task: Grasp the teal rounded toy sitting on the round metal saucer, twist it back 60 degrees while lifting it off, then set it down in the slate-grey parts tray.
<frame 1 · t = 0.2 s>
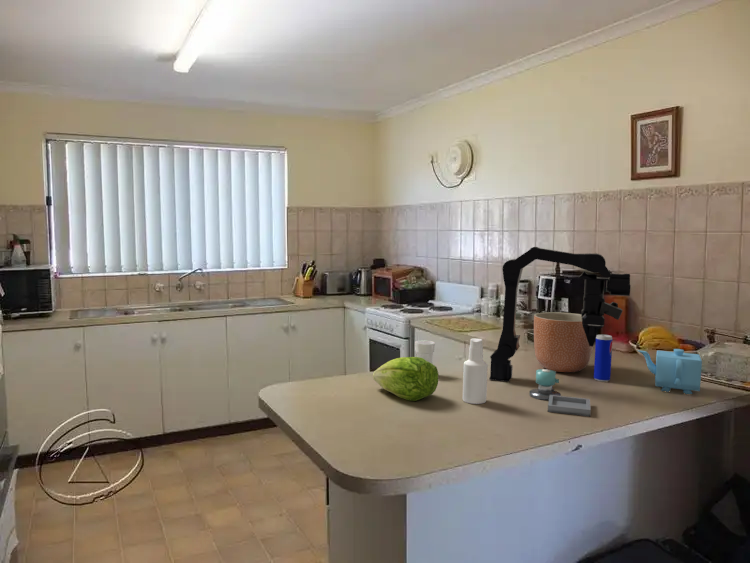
hand: (590, 343, 184), 14 cm above the worktop, fingers open, 9 cm apart
teal rounded toy: (545, 382, 175), point 4 cm above the worktop, touching round metal saucer
beverage can: (601, 380, 196), on the worktop
teapot: (666, 389, 187), on the worktop
cup: (424, 374, 199), on the worktop
planter: (561, 369, 210), on the worktop
lettuce: (402, 395, 175), on the worktop
round metal saucer: (544, 396, 176), on the worktop
spray bottle: (474, 401, 170), on the worktop
tray: (569, 408, 164), on the worktop
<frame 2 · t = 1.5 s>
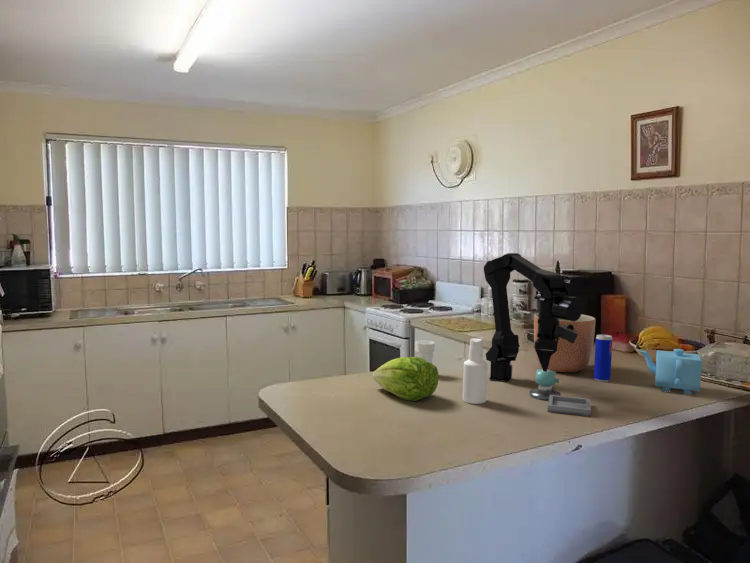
hand: (545, 367, 175), 9 cm above the worktop, fingers open, 9 cm apart
nothing on the worktop moved.
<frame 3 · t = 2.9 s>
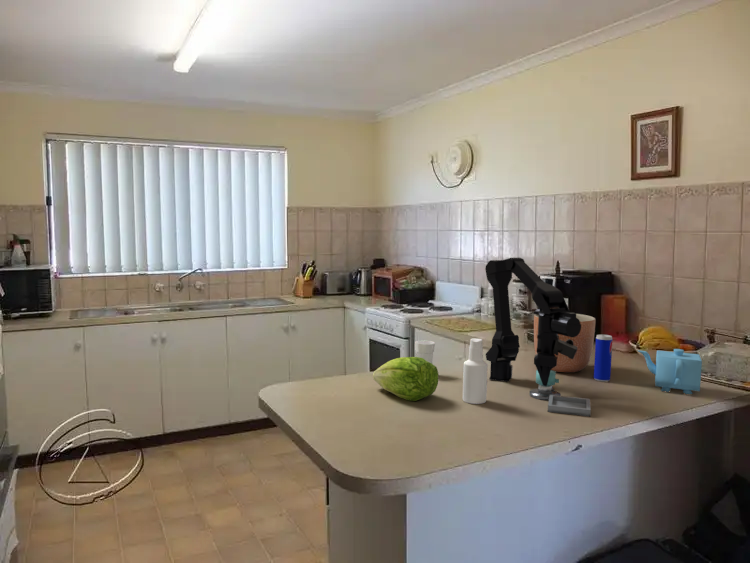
hand: (545, 382, 175), 4 cm above the worktop, fingers closed on teal rounded toy, 6 cm apart
teal rounded toy: (545, 382, 175), point 4 cm above the worktop, touching gripper, round metal saucer
everything else where it was.
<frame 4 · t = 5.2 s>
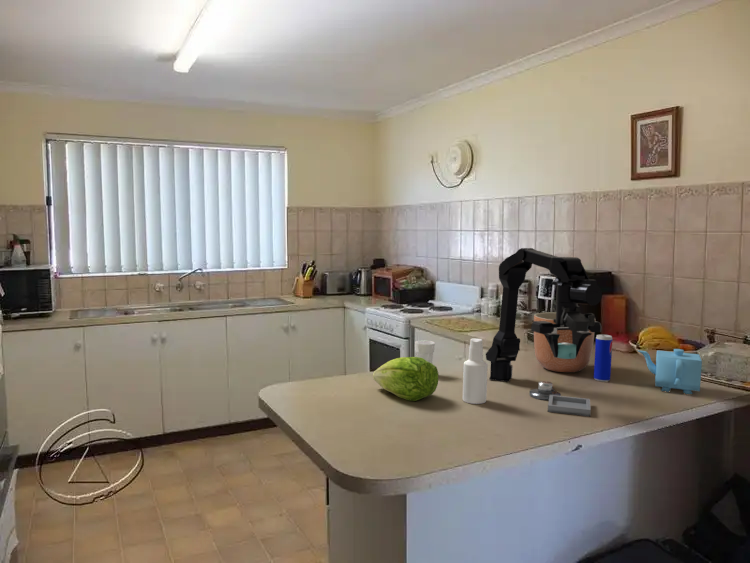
hand: (565, 357, 166), 14 cm above the worktop, fingers closed on teal rounded toy, 6 cm apart
teal rounded toy: (565, 356, 166), point 14 cm above the worktop, touching gripper
everything else where it was.
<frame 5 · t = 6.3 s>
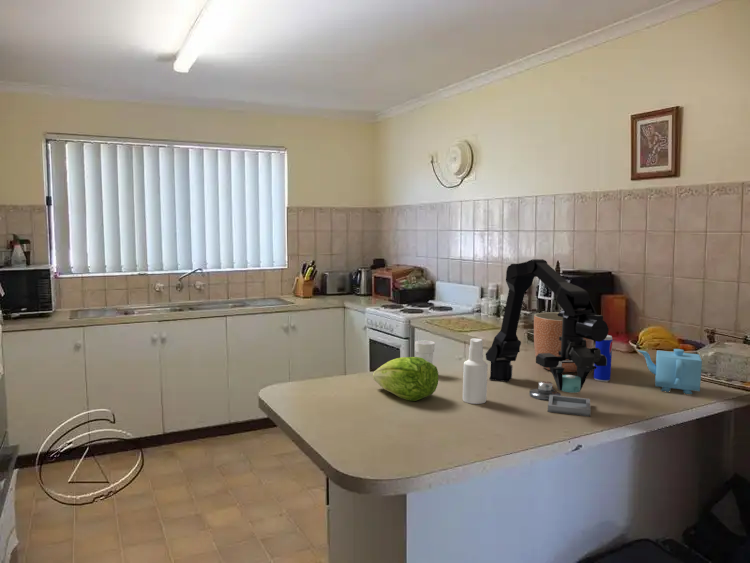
hand: (569, 389, 164), 5 cm above the worktop, fingers closed on teal rounded toy, 6 cm apart
teal rounded toy: (569, 389, 164), point 5 cm above the worktop, touching gripper
everything else where it was.
when the fingers open (2 cm above the worktop, at t = 7.5 s): teal rounded toy drops 2 cm, resting on tray.
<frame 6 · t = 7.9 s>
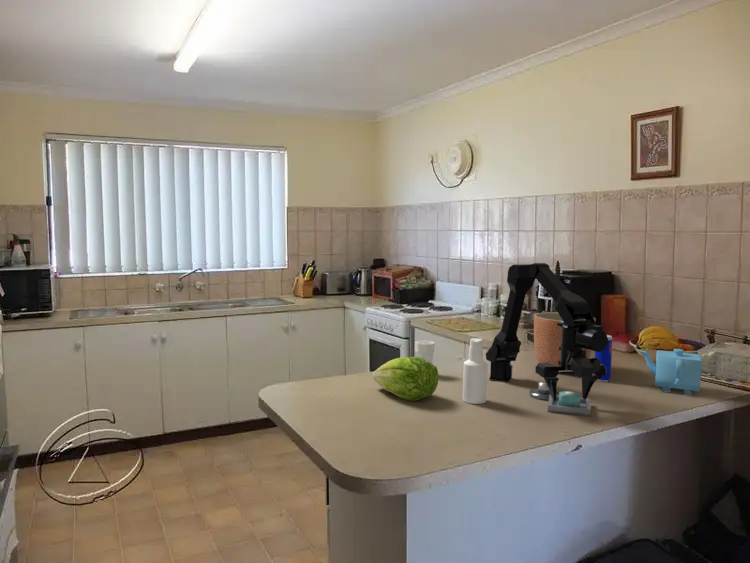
hand: (569, 399, 164), 2 cm above the worktop, fingers open, 9 cm apart
teal rounded toy: (569, 406, 164), point 1 cm above the worktop, touching tray
everything else where it was.
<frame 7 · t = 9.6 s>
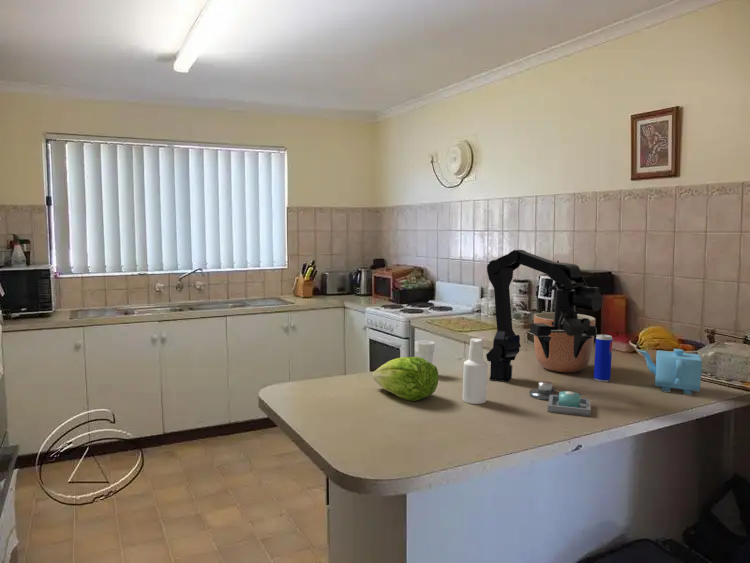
hand: (561, 357, 176), 11 cm above the worktop, fingers open, 9 cm apart
nothing on the worktop moved.
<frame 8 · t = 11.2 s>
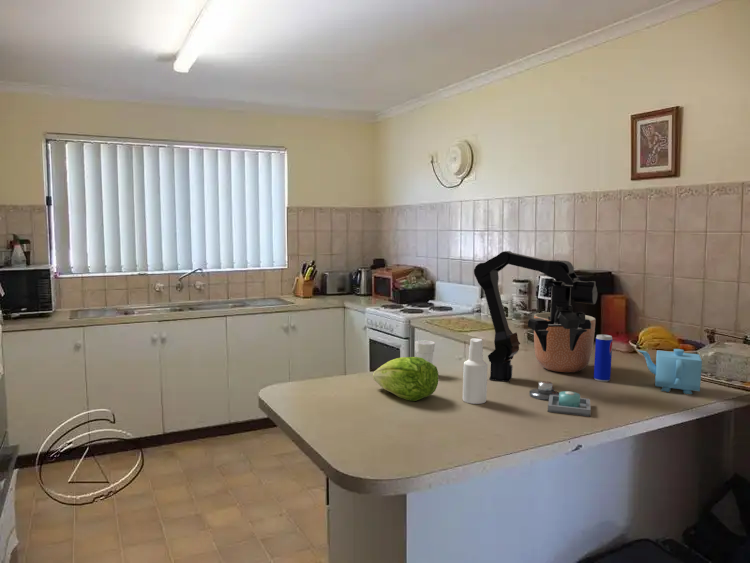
hand: (558, 350, 183), 12 cm above the worktop, fingers open, 9 cm apart
nothing on the worktop moved.
at the end: teal rounded toy inside the target area on the tray (0.0 cm from its centre), point 0.6 cm above the tray's base; teal rounded toy touching tray; the gripper is holding nothing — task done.
